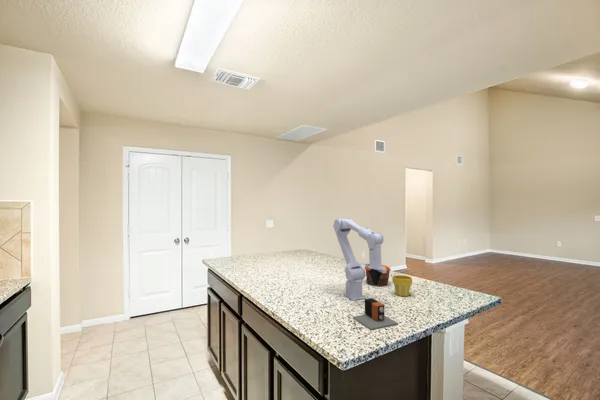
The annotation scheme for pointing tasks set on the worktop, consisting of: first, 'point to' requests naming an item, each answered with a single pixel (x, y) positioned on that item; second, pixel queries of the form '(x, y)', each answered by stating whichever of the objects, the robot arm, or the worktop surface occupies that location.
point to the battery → (374, 309)
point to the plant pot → (402, 284)
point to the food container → (383, 278)
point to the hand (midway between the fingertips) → (375, 284)
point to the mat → (374, 322)
